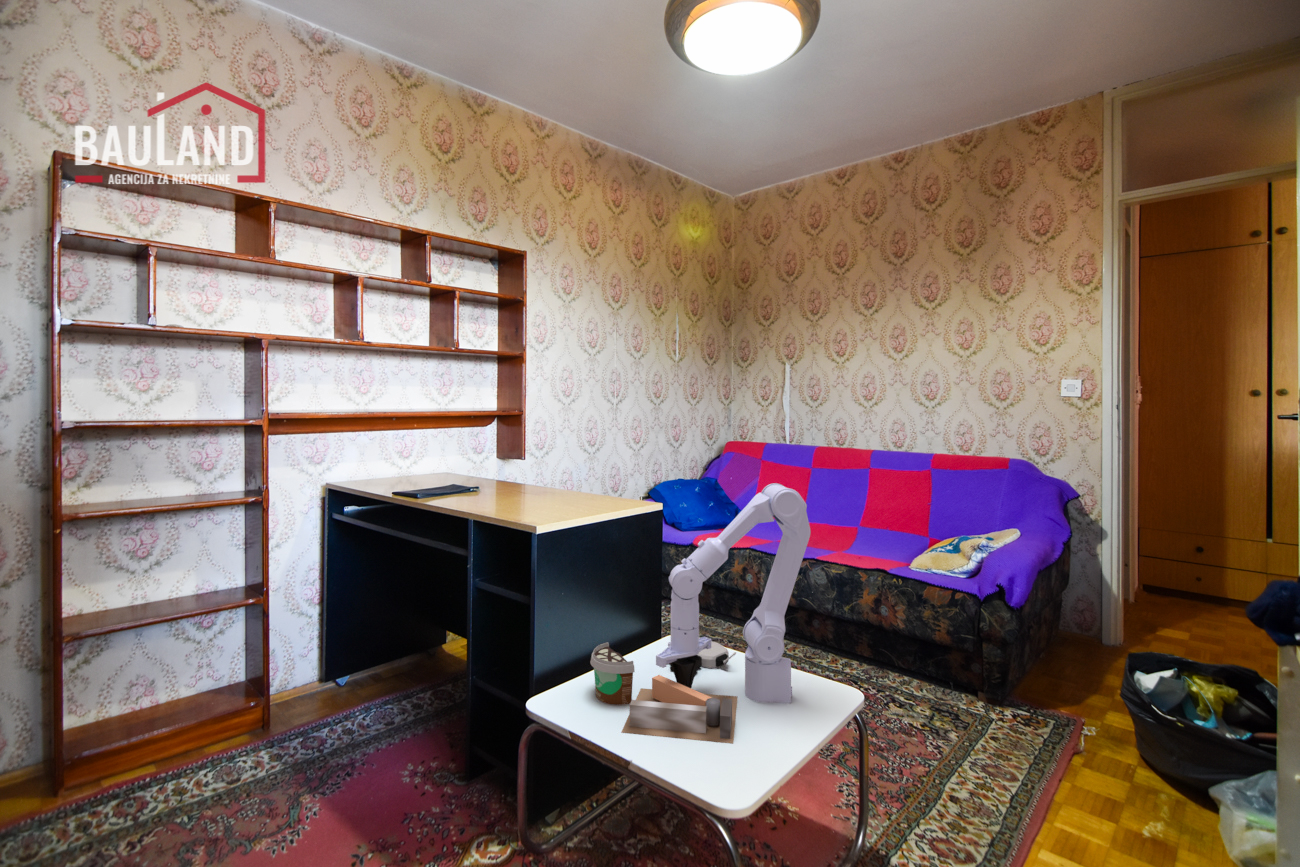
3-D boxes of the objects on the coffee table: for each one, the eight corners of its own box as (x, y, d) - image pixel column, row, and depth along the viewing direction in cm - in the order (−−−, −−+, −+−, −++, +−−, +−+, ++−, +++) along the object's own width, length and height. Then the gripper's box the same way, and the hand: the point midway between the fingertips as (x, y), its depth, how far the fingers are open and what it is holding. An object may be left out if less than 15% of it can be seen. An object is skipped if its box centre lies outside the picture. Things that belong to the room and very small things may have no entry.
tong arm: (722, 722, 113) (723, 701, 113) (713, 727, 111) (714, 706, 111) (660, 693, 125) (660, 674, 125) (651, 697, 123) (651, 678, 123)
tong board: (737, 702, 124) (737, 677, 124) (733, 750, 107) (733, 720, 107) (640, 693, 128) (640, 669, 128) (621, 739, 110) (621, 710, 110)
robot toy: (689, 690, 132) (739, 667, 141) (688, 670, 131) (738, 648, 141) (654, 671, 142) (702, 651, 151) (653, 652, 141) (701, 633, 150)
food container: (581, 694, 128) (580, 646, 128) (607, 687, 131) (607, 641, 131) (606, 719, 117) (606, 668, 117) (634, 712, 120) (634, 661, 120)
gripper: (693, 612, 132) (693, 675, 132) (645, 629, 122) (644, 696, 122) (719, 620, 127) (719, 685, 127) (670, 638, 116) (670, 709, 117)
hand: (684, 691), depth 124 cm, fingers closed
